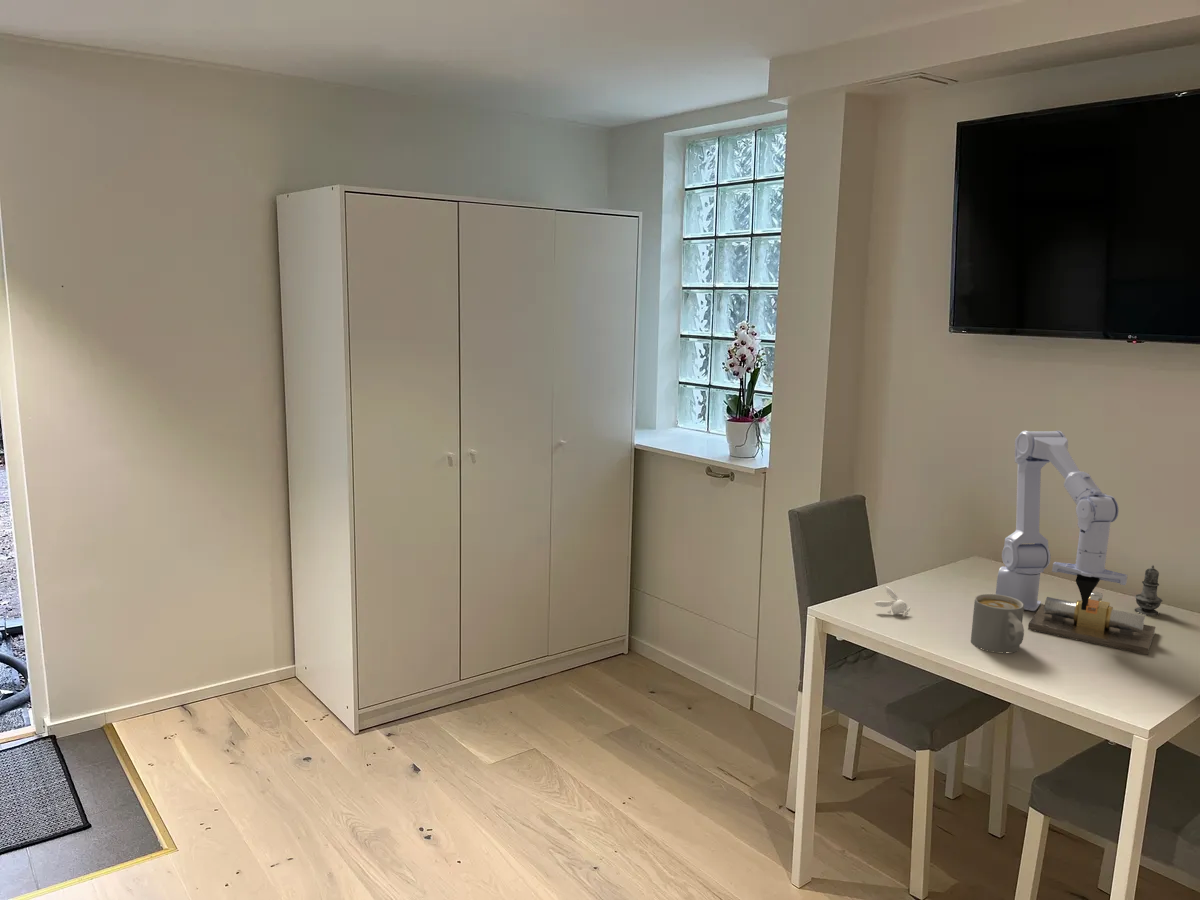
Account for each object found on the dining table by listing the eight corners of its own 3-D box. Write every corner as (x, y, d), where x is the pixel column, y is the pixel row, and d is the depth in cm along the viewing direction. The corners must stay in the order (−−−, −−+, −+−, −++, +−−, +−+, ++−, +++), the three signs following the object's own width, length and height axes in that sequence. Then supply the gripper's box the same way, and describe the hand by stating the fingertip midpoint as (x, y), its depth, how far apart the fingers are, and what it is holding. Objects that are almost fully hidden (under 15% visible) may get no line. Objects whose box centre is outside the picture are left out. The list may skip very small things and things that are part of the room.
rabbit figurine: (902, 620, 218) (873, 599, 221) (898, 627, 221) (870, 606, 224) (916, 603, 220) (887, 583, 224) (912, 610, 223) (884, 590, 227)
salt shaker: (1164, 617, 223) (1171, 569, 221) (1138, 615, 224) (1144, 567, 222) (1155, 609, 229) (1161, 562, 226) (1129, 606, 230) (1135, 560, 228)
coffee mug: (963, 635, 209) (968, 593, 207) (1008, 636, 209) (1012, 594, 207) (987, 659, 196) (991, 614, 194) (1034, 660, 196) (1039, 615, 194)
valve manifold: (1028, 629, 213) (1031, 597, 212) (1041, 610, 226) (1045, 580, 225) (1147, 654, 200) (1151, 621, 198) (1154, 632, 213) (1159, 601, 211)
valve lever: (1088, 596, 214) (1089, 590, 213) (1102, 598, 212) (1103, 592, 212) (1084, 611, 203) (1084, 605, 203) (1098, 614, 202) (1099, 607, 201)
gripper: (1052, 547, 203) (1045, 606, 206) (1127, 560, 195) (1119, 621, 197) (1058, 540, 209) (1051, 598, 211) (1131, 553, 201) (1123, 612, 203)
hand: (1084, 608), depth 205 cm, fingers closed, pressing on valve lever
